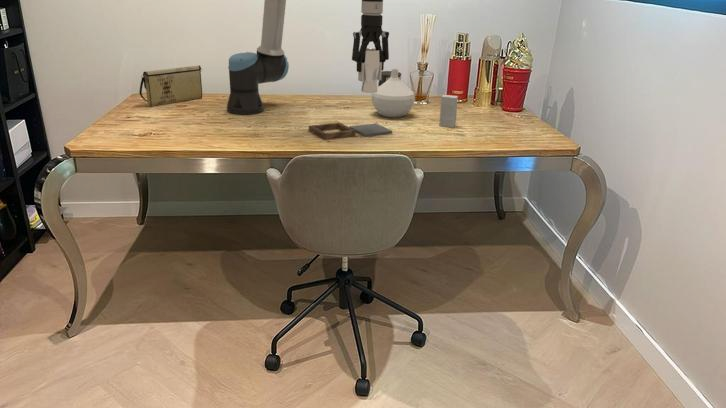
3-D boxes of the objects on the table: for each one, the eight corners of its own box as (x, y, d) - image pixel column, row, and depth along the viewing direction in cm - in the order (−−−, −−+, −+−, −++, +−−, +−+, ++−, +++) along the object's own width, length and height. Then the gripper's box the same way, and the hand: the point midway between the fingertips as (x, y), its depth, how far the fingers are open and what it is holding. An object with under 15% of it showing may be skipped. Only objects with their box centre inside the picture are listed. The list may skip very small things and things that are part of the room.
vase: (384, 121, 223) (386, 74, 215) (363, 111, 238) (365, 67, 230) (421, 118, 231) (425, 72, 223) (399, 108, 246) (402, 65, 238)
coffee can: (374, 104, 251) (375, 73, 246) (381, 100, 260) (383, 70, 255) (395, 107, 248) (397, 75, 242) (402, 102, 257) (404, 72, 251)
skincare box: (455, 125, 221) (458, 95, 217) (453, 127, 218) (456, 97, 213) (440, 123, 223) (443, 94, 218) (438, 126, 219) (441, 96, 215)
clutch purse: (197, 96, 256) (194, 63, 250) (206, 98, 252) (203, 65, 246) (137, 105, 235) (133, 70, 229) (146, 108, 231) (141, 72, 225)
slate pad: (364, 136, 201) (364, 134, 201) (349, 128, 211) (349, 126, 210) (392, 133, 207) (392, 130, 207) (375, 125, 216) (376, 123, 216)
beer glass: (378, 93, 199) (380, 51, 193) (359, 92, 199) (360, 50, 193) (378, 89, 205) (380, 48, 199) (360, 89, 205) (361, 47, 200)
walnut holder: (323, 139, 196) (323, 134, 195) (308, 130, 206) (308, 125, 206) (355, 135, 202) (355, 130, 201) (339, 127, 212) (339, 122, 212)
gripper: (352, 15, 184) (350, 83, 193) (401, 14, 193) (397, 80, 202) (342, 13, 190) (341, 80, 199) (390, 13, 199) (387, 77, 208)
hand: (369, 80), depth 201 cm, fingers closed on beer glass, 7 cm apart
